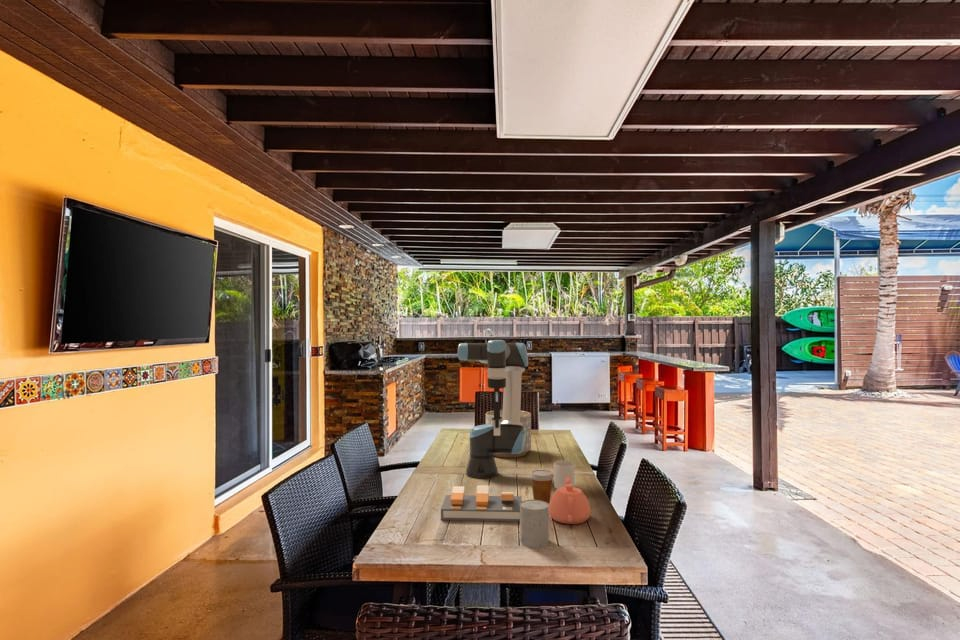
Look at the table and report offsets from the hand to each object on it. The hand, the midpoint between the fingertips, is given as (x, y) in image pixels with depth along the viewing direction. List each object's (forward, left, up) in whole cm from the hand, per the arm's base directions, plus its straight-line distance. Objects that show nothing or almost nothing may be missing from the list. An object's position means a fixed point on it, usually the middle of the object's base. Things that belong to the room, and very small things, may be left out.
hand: (497, 435), depth 215 cm
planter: (-53, +60, -27) cm, 84 cm away
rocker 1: (0, -21, -20) cm, 29 cm away
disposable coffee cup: (+14, +12, -27) cm, 32 cm away
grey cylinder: (+38, -19, -27) cm, 50 cm away
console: (+7, -14, -27) cm, 31 cm away
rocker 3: (+14, -8, -20) cm, 25 cm away
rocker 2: (+7, -14, -20) cm, 26 cm away
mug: (+8, +34, -27) cm, 44 cm away
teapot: (+32, +7, -27) cm, 42 cm away
